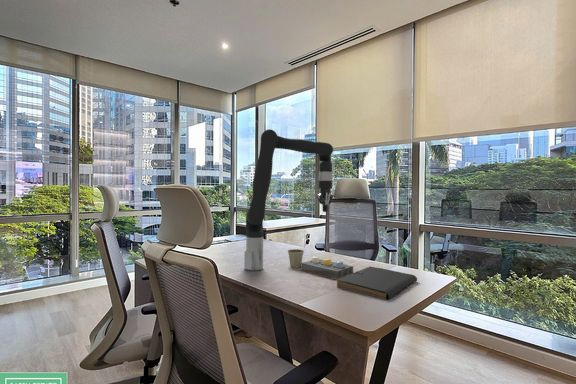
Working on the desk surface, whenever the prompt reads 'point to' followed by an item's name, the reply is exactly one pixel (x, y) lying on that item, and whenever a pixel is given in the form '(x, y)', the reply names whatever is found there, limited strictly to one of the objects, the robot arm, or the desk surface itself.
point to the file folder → (376, 282)
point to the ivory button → (315, 260)
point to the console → (326, 269)
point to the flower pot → (295, 257)
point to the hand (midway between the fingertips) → (325, 211)
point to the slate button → (339, 264)
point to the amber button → (327, 262)
